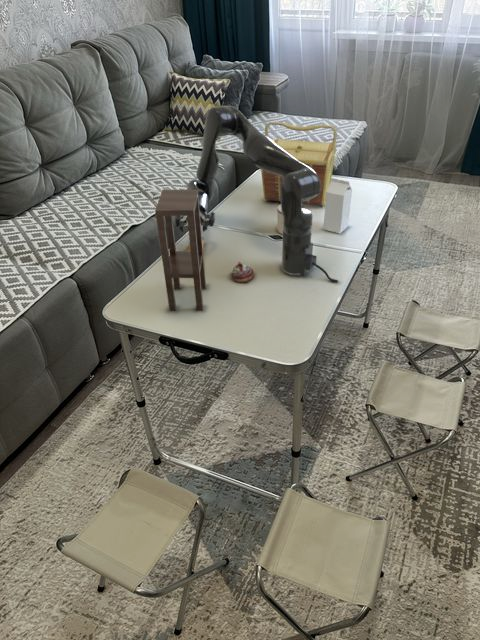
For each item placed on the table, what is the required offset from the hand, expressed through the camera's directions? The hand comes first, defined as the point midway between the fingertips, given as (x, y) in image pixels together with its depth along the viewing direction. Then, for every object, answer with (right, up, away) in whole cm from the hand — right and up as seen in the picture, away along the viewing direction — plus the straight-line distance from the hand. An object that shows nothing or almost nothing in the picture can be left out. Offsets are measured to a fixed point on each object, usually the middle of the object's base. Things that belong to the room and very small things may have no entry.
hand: (192, 229), depth 172 cm
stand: (0, -25, -14) cm, 28 cm away
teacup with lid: (+34, +5, +23) cm, 42 cm away
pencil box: (0, -9, +5) cm, 11 cm away
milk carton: (+52, +6, +24) cm, 57 cm away
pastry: (+17, -17, -4) cm, 24 cm away
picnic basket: (+39, +25, +47) cm, 66 cm away
